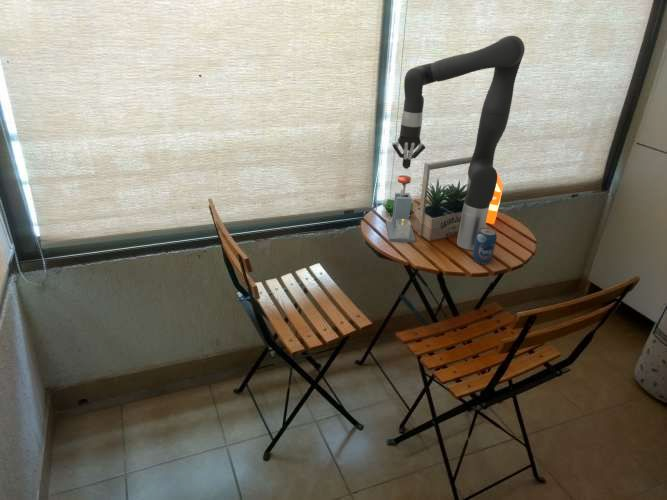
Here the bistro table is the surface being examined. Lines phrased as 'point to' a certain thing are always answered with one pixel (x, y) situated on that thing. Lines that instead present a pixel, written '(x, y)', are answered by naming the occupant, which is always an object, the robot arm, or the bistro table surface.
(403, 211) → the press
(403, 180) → the disc
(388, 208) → the clamp
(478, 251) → the soda can
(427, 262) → the bistro table surface
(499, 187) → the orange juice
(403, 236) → the block
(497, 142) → the robot arm
